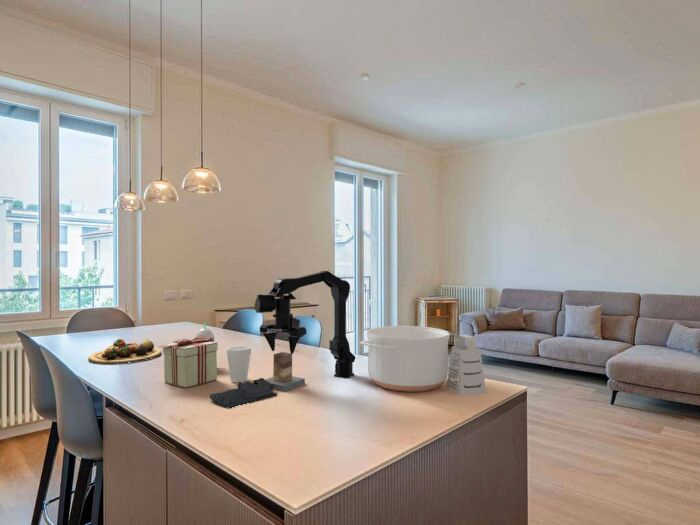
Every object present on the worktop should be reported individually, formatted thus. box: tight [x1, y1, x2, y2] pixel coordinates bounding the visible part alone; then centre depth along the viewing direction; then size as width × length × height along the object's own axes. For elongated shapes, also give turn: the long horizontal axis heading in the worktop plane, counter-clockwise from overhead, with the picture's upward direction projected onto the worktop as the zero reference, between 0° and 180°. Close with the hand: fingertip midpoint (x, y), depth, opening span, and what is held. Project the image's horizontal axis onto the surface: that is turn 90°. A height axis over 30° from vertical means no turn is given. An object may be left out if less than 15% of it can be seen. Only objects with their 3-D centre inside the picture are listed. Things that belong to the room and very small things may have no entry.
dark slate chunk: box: [209, 377, 278, 409], centre depth 151 cm, size 15×22×5 cm
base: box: [265, 375, 306, 393], centre depth 166 cm, size 12×12×2 cm
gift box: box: [158, 336, 219, 389], centre depth 171 cm, size 17×18×17 cm
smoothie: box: [194, 322, 215, 342], centre depth 193 cm, size 8×8×20 cm
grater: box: [445, 334, 487, 396], centre depth 160 cm, size 10×10×20 cm
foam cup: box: [226, 345, 252, 383], centre depth 172 cm, size 10×9×13 cm
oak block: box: [272, 366, 293, 382], centre depth 166 cm, size 5×5×5 cm
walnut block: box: [273, 351, 293, 369], centre depth 166 cm, size 5×5×5 cm
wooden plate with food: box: [88, 338, 162, 365], centre depth 214 cm, size 32×32×8 cm
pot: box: [359, 325, 451, 393], centre depth 169 cm, size 42×32×20 cm
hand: (282, 352), depth 165 cm, fingers open, 9 cm apart
